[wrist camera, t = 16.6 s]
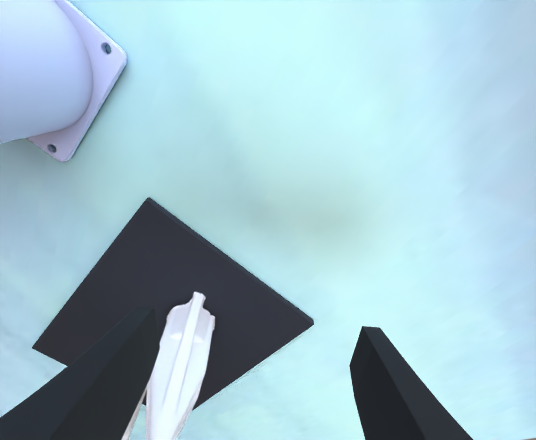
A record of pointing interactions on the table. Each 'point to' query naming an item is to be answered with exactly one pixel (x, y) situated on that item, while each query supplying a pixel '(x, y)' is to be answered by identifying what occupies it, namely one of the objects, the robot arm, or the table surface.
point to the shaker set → (177, 371)
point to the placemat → (175, 298)
